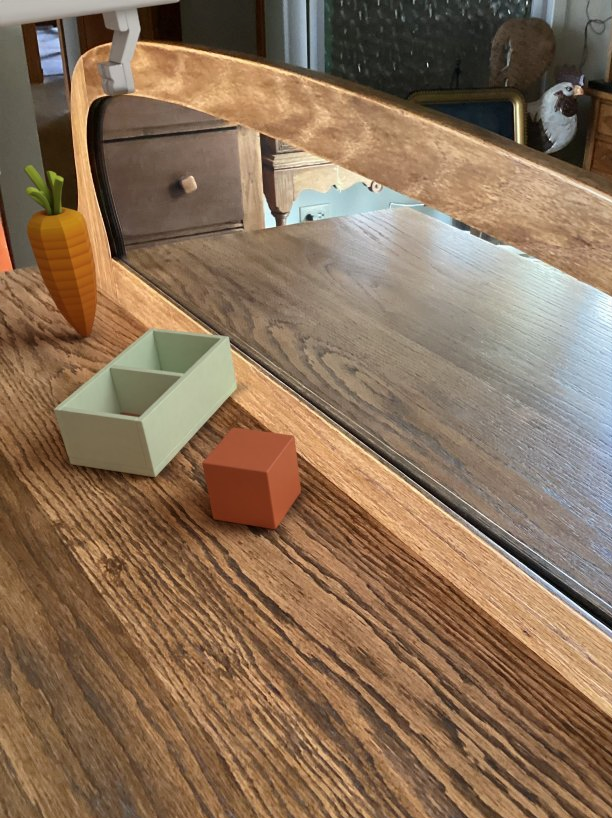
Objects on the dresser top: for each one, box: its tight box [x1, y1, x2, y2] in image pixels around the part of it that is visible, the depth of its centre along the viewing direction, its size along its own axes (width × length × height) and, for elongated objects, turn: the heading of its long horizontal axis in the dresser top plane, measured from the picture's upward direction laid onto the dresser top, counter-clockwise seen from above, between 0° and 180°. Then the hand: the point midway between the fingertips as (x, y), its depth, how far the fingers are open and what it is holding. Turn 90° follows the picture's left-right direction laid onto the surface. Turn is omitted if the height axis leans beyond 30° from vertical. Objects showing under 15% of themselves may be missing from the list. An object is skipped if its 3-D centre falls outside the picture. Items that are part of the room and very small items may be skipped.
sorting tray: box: [53, 327, 238, 478], centre depth 68 cm, size 7×14×5 cm, turn 163°
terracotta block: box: [202, 426, 302, 530], centre depth 59 cm, size 4×4×4 cm
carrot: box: [23, 164, 98, 338], centre depth 77 cm, size 5×5×15 cm
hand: (48, 107), depth 55 cm, fingers open, 8 cm apart
